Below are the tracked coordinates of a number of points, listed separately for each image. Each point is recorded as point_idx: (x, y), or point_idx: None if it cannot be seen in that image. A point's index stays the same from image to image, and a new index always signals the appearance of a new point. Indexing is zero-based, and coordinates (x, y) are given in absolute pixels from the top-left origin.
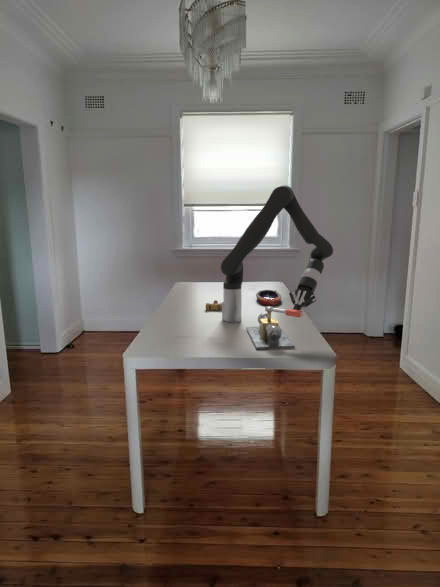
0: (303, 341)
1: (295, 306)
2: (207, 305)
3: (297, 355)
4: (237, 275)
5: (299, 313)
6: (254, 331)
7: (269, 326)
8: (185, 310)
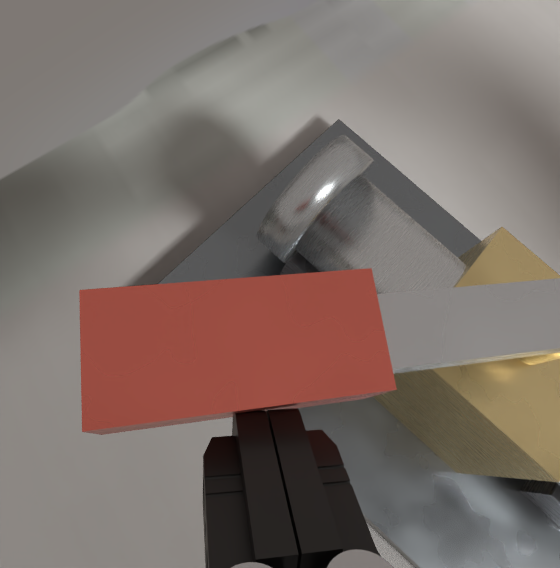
0: (161, 518)
1: (320, 500)
2: None
3: (53, 197)
4: None
5: (95, 297)
6: None
7: (413, 224)
8: None
